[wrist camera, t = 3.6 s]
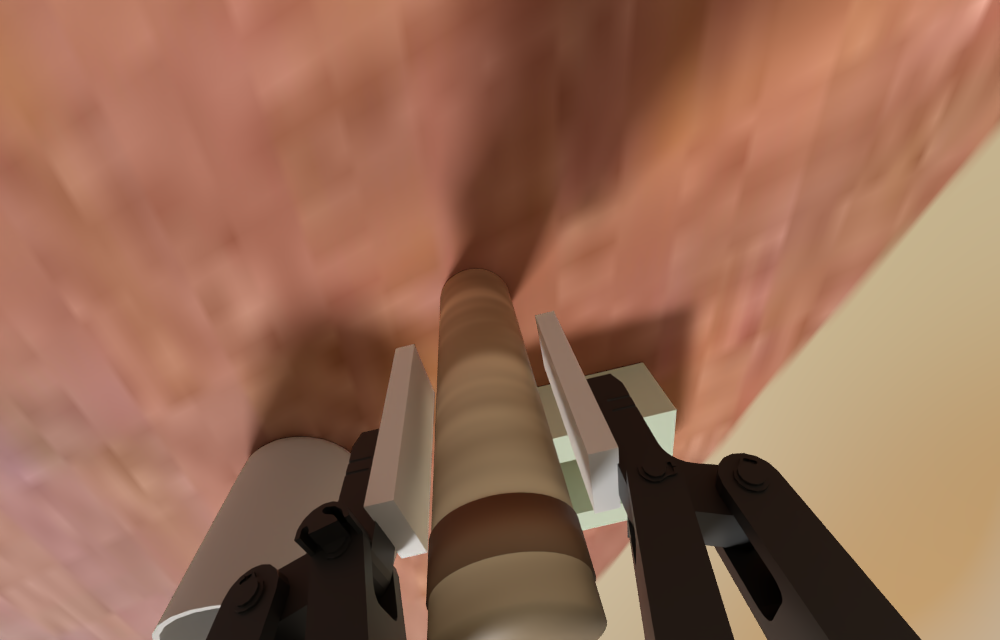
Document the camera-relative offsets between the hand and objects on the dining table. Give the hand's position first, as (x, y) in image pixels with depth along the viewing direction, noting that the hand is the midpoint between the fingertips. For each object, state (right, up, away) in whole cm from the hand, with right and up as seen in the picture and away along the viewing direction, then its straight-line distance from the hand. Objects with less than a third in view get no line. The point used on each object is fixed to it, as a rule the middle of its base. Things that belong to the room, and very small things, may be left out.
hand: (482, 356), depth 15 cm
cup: (-11, -9, +10) cm, 17 cm away
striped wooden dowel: (-1, +3, +4) cm, 5 cm away
